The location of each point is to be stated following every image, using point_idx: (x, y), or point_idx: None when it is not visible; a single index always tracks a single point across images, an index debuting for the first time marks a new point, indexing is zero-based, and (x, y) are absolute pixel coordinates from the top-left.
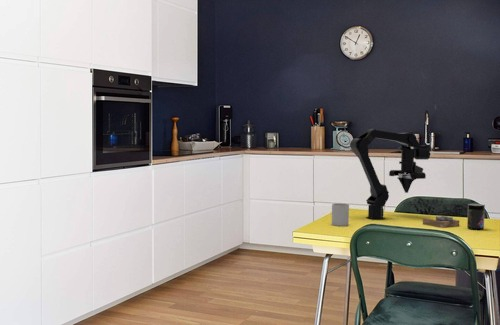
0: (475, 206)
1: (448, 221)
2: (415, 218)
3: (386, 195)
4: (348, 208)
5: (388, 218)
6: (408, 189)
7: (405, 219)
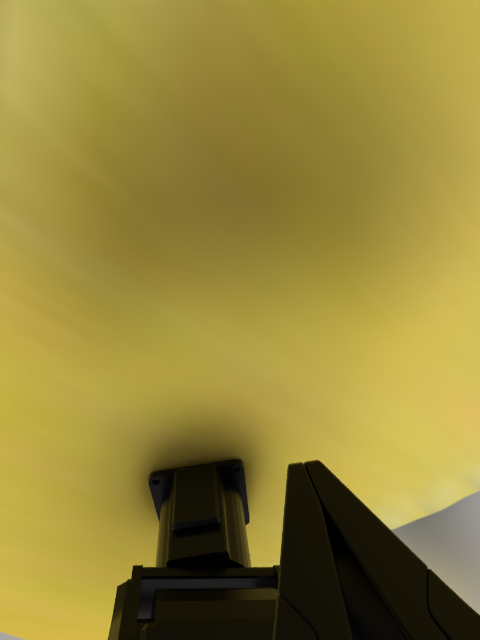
0: None
1: None
2: (299, 237)
3: None
4: None
5: (220, 425)
6: (359, 511)
7: (306, 347)
